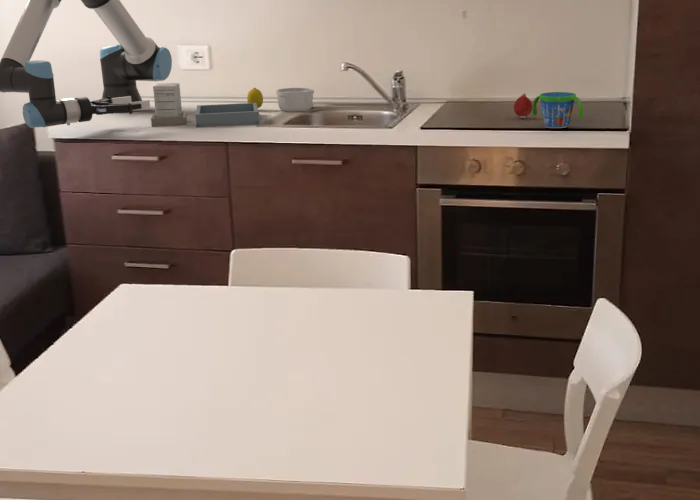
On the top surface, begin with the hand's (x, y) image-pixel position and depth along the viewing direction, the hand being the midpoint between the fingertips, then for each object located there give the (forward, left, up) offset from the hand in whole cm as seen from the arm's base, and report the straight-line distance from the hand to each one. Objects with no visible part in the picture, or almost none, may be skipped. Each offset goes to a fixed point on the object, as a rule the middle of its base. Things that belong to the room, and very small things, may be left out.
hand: (140, 102), depth 283 cm
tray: (-4, +27, -8) cm, 29 cm away
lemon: (-23, +37, -8) cm, 45 cm away
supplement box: (-5, +8, -8) cm, 13 cm away
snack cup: (+40, +124, -8) cm, 131 cm away
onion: (+21, +120, -8) cm, 122 cm away
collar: (-5, +8, -8) cm, 12 cm away
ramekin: (-21, +51, -8) cm, 56 cm away
